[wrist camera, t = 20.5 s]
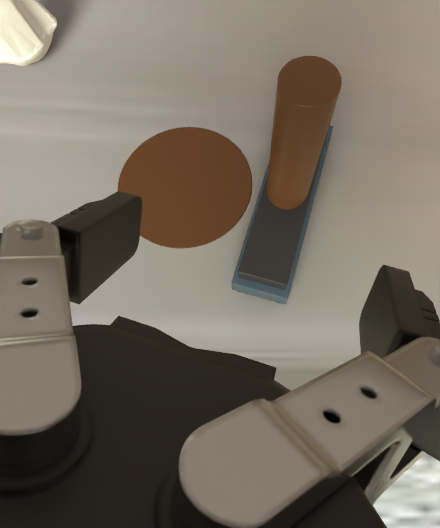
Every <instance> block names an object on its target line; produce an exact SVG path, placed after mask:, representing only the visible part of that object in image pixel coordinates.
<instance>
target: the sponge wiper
mask: <svg viewBox="0 0 440 528" xmlns="http://www.w3.org/2000/svg"><path fill="white" fill-rule="evenodd" d="M340 89H341V76H340V73H339V71H338V69H337V68H336V67H335V66H334V65H333V64H332V63H331V62H329V61H328V60H325V59H323V58H320V57H316V56H303V57H299V58H296V59H293V60H291V61H290V62H288V63H287V64H286V65H285V66H284V67H283V68H282V70H281V71H280V73H279V76H278V83H277V93H276V102H275V112H274V122H273V132H272V142H271V152H270V160H269V163H268V167H267V170H266V173H265V176H264V180H263V183H262V186H261V189H260V193H259V196H258V199H257V202H256V206H255V209H254V212H253V215H252V219H251V222H250V225H249V228H248V232H247V235H246V238H245V241H244V245H243V248H242V251H241V254H240V258H239V261H238V264H237V267H236V271H235V274H234V277H233V280H232V289H233V290H236V291H238V292H243V293H247V294H250V295H254V296H257V297H261V298H264V299H268V300H271V301H275V302H277V303H282V304H286V302H287V300H288V296H289V292H290V289H291V285H292V281H293V277H294V273H295V270H296V266H297V262H298V258H299V254H300V251H301V247H302V243H303V239H304V235H305V232H306V228H307V224H308V220H309V216H310V213H311V209H312V205H313V201H314V197H315V194H316V190H317V186H318V182H319V178H320V175H321V171H322V167H323V163H324V159H325V155H326V152H327V148H328V144H329V140H330V136H331V133H332V129H333V126H330V121H331V118H332V114H333V111H334V108H335V105H336V101H337V98H338V95H339V92H340Z"/></svg>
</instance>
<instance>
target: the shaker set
mask: <svg viewBox="0 0 440 528" xmlns="http://www.w3.org/2000/svg"><path fill="white" fill-rule="evenodd" d="M56 26H57V21H56V18H55V17H54V16H53V15H51V13H50V12H49V11H48V10H47V9H46V8H45V7H44V6H43V5H42V4H41V3H40V2H39V1H38V0H0V64H2V63H8V64H16V65H19V66H27V65H29V64H31V63H35V62H37V61H39V60H40V59H42V58H43V57H44V56H45V54H46V53H47V51H48V49H49V47H50V44H51V41H52V37H53V32H54V30H55V28H56Z"/></svg>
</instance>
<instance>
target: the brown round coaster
mask: <svg viewBox="0 0 440 528" xmlns="http://www.w3.org/2000/svg"><path fill="white" fill-rule="evenodd" d="M118 191H121V192H125V193H129V194H132V195H136V196H139V197H141V199H142V215H141V226H140V235H141V236H142V237H144V238H145V239H147V240H149V241H151V242H153V243H155V244H158V245H161V246H166V247H171V248H191V247H197V246H201V245H204V244H207V243H210V242H212V241H214V240H216V239H218V238H220V237H221V236H223V235H224V234H226V233H227V232H228V231H230V230H231V229H232V228H233V227H234V226H235V225H236V224H237V222H238V221H239V220H240V219H241V217H242V216H243V214H244V212H245V211H246V208H247V206H248V204H249V201H250V197H251V191H252V177H251V172H250V168H249V165H248V163H247V161H246V159H245V157H244V155H243V154H242V153H241V151H240V150H239V149H238V148H237V147H236V146H235V145H234V144H233V143H232V142H231V141H230V140H228V139H227V138H225V137H223V136H222V135H220V134H217V133H215V132H213V131H209V130H206V129H201V128H190V127H189V128H177V129H172V130H168V131H165V132H162V133H160V134H157V135H155V136H153V137H151V138H150V139H148V140H147V141H145V142H144V143H142V144H141V145H140V146H139V147H138V148H137V149H136V150H135V151H134V152H133V153H132V154H131V156H130V157H129V158H128V160H127V161H126V163H125V165H124V167H123V169H122V172H121V174H120V178H119V183H118Z"/></svg>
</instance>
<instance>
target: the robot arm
mask: <svg viewBox="0 0 440 528" xmlns="http://www.w3.org/2000/svg"><path fill="white" fill-rule="evenodd" d="M141 215H142V199H141V197H139V196H136V195H132V194H129V193H125V192H121V191H118V192H116V193H114V194H112V195H110V196H109V197H107V198H105V199H103V200H100V201H95V202H90V203H87V204H85V205H83V206H81V207H79V208H78V210H77V209H75V210H74V211H72V212H70V214H66V215H64V216H62V217H60V218H59V219H57V220H55V221H53V222H51V223H49V222H45V221H39V220H22V221H17V222H13V223H10V224H8V225H7V226H5V227H4V228H3V232H2V233H0V528H387V527H386V525H385V524H384V522H383V521H382V519H381V518H380V516H379V515H378V513H377V511H376V510H375V508H374V507H373V504H374V503H375V501H376V500H377V499H378V498H379V496H380V495H381V494H382V493H383V492H384V491H385V490H386V489H387V488H388V487H389V486H390V485H391V484H393V483H394V482H395V481H396V480H397V479H398V478H399V477H400V476H401V475H402V474H403V473H404V472H405V471H406V470H408V469H409V468H410V467H411V466H412V465H413V464H414V463H415V462H416V461H417V460H418V459H419V458H420V457H421V456H422V455H423V454H424V453H427V454H429V455H430V456H432V457H434V458H435V459H437V460H439V461H440V323H439V322H440V320H439V318H438V315H437V314H436V310H435V307H434V305H433V302H432V301H431V300H430V299H429V298H428V297H427V296H426V295H425V294H424V293H423V292H422V291H418V290H415V289H414V286H413V283H412V280H411V277H410V274H409V272H408V271H405V270H401V269H397V268H394V267H390V266H387V265H383V266H382V267H381V268H380V270H379V272H378V274H377V277H376V279H375V281H374V284H373V286H372V288H371V291H370V293H369V295H368V298H367V300H366V302H365V305H364V307H363V310H362V313H361V317H360V322H359V330H360V345H361V355H359V356H357V357H355V358H353V359H351V360H349V361H348V362H346V363H344V364H342V365H340V366H338V367H336V368H334V369H332V370H330V371H329V372H327V373H325V374H323V375H321V376H319V377H317V378H315V379H313V380H311V381H310V382H308V383H306V384H304V385H302V386H300V387H298V388H296V389H294V390H292V391H290V390H289V389H287V388H286V387H284V386H283V385H281V384H280V383H278V382H276V381H275V380H274V377H275V372H276V368H275V367H272V366H269V365H266V364H263V363H260V362H257V361H254V360H251V359H248V358H245V357H242V356H239V355H236V354H229V353H222V352H216V351H209V350H202V349H195V348H191V347H189V346H187V345H185V344H183V343H182V342H180V341H178V340H176V339H174V338H173V337H171V336H169V335H167V334H165V333H164V332H162V331H160V330H158V329H156V328H154V327H151V326H148V325H145V324H142V323H139V322H136V321H133V320H130V319H127V318H124V317H121V316H118V317H117V318H116V319H115V320H114V322H113V323H112V324H111V325H97V324H92V325H78V326H72V318H71V310H70V302H69V301H71V302H74V303H77V304H80V303H81V302H82V301H83V300H84V299H86V298H87V297H88V296H89V295H90V294H91V293H92V292H93V291H94V290H96V289H97V288H98V287H99V286H100V285H101V284H102V283H103V282H104V281H106V280H107V279H108V278H109V277H110V276H111V275H112V274H113V273H114V272H116V271H117V270H118V269H119V268H120V267H121V266H122V265H123V264H125V263H126V262H127V261H128V260H129V259H130V258H131V257H132V256H133V255H134V253H135V252H136V250H137V247H138V243H139V237H140V226H141Z"/></svg>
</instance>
